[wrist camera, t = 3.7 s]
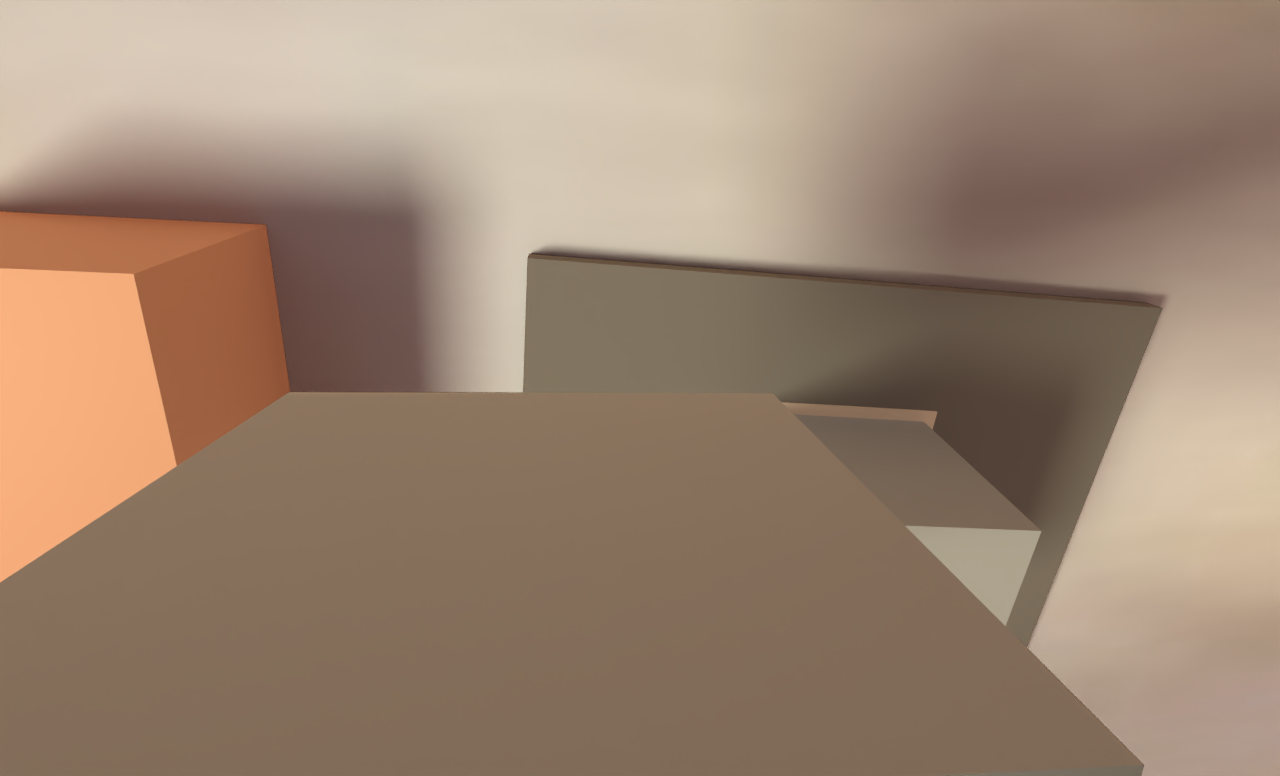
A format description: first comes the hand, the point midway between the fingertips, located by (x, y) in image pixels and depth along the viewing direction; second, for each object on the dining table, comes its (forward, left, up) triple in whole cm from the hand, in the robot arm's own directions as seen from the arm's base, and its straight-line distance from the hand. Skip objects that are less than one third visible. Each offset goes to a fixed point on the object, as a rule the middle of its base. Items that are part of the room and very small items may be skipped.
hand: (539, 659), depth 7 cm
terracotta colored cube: (-1, +10, -11) cm, 15 cm away
